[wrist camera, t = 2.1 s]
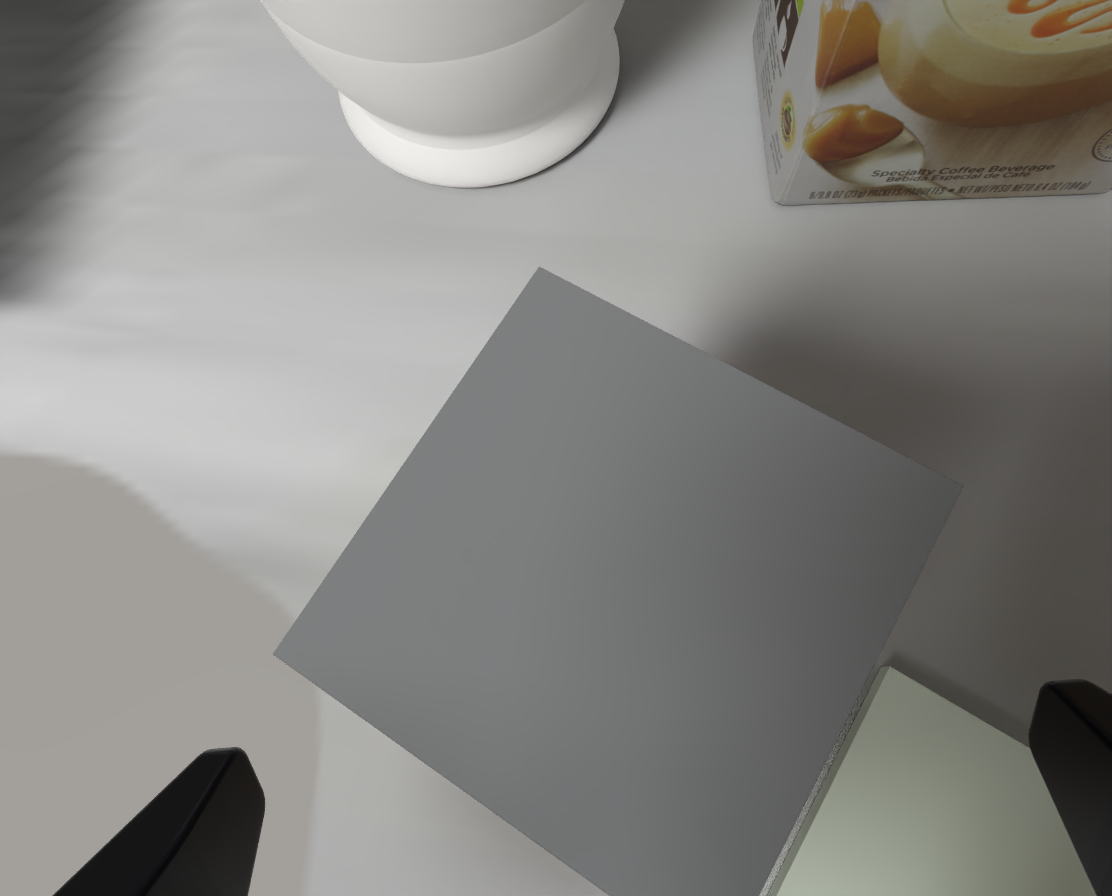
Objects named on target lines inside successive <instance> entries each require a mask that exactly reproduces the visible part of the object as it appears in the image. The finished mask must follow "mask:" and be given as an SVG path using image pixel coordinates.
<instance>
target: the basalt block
mask: <svg viewBox="0 0 1112 896" xmlns="http://www.w3.org/2000/svg"><path fill="white" fill-rule="evenodd" d="M962 488H963V485H961V484H959V483H957V482H955V481H953V480H951V479H949V478H947V477H945V476H943V475H941V474H939V473H937V472H936V471H934V470H932V469H930V468H928V467H926V466H924V465H922V464H920V463H918V462H916V461H914V460H912V459H910V458H908V457H907V456H905V455H903V454H901V453H899V452H897V451H895V450H893V449H891V448H889V447H887V446H885V445H883V444H881V443H879V442H877V441H876V440H874V439H872V438H870V437H868V436H866V435H864V434H862V433H860V432H858V431H856V430H854V429H852V428H850V427H848V426H847V425H845V424H843V423H841V422H839V421H837V420H835V419H833V418H831V417H829V416H827V415H825V414H823V413H821V412H819V411H818V410H816V409H814V408H812V407H810V406H808V405H806V404H804V403H802V402H800V401H798V400H796V399H794V398H792V397H790V396H788V395H787V394H785V393H783V392H781V391H779V390H777V389H775V388H773V387H771V386H769V385H767V384H765V383H763V382H761V381H759V380H758V379H756V378H754V377H752V376H750V375H748V374H746V373H744V372H742V371H740V370H738V369H736V368H734V367H732V366H730V365H729V364H727V363H725V362H723V361H721V360H719V359H717V358H715V357H713V356H711V355H709V354H707V353H705V352H703V351H701V350H699V349H698V348H696V347H694V346H692V345H690V344H688V343H686V342H684V341H682V340H680V339H678V338H676V337H674V336H672V335H670V334H669V333H667V332H665V331H663V330H661V329H659V328H657V327H655V326H653V325H651V324H649V323H647V322H645V321H643V320H641V319H640V318H638V317H636V316H634V315H632V314H630V313H628V312H626V311H624V310H622V309H620V308H618V307H616V306H614V305H612V304H611V303H609V302H607V301H605V300H603V299H601V298H599V297H597V296H595V295H593V294H591V293H589V292H587V291H585V290H583V289H581V288H580V287H578V286H576V285H574V284H572V283H570V282H568V281H566V280H564V279H562V278H560V277H558V276H556V275H554V274H552V273H551V272H549V271H547V270H545V269H543V268H541V267H539V268H538V269H537V271H536V272H535V273H534V275H533V276H532V278H531V279H530V281H529V282H528V284H527V285H526V287H525V288H524V289H523V291H522V292H521V294H520V295H519V297H518V298H517V300H516V301H515V303H514V304H513V305H512V307H511V308H510V310H509V311H508V313H507V314H506V316H505V317H504V319H503V320H502V321H501V323H500V324H499V326H498V327H497V329H496V330H495V332H494V333H493V335H492V336H491V337H490V339H489V340H488V342H487V343H486V345H485V346H484V348H483V349H482V351H481V352H480V353H479V355H478V356H477V358H476V359H475V361H474V362H473V364H472V365H471V367H470V368H469V369H468V371H467V372H466V374H465V375H464V377H463V378H462V380H461V381H460V383H459V384H458V385H457V387H456V388H455V390H454V391H453V393H452V394H451V396H450V397H449V399H448V400H447V401H446V403H445V404H444V406H443V407H442V409H441V410H440V412H439V413H438V415H437V416H436V417H435V419H434V420H433V422H432V423H431V425H430V426H429V428H428V429H427V431H426V432H425V433H424V435H423V436H422V438H421V439H420V441H419V442H418V444H417V445H416V447H415V448H414V449H413V451H412V452H411V454H410V455H409V457H408V458H407V460H406V461H405V463H404V464H403V465H402V467H401V468H400V470H399V471H398V473H397V474H396V476H395V477H394V479H393V480H392V481H391V483H390V484H389V486H388V487H387V489H386V490H385V492H384V493H383V495H382V496H381V497H380V499H379V500H378V502H377V503H376V505H375V506H374V508H373V509H372V511H371V512H370V513H369V515H368V516H367V518H366V519H365V521H364V522H363V524H362V525H361V527H360V528H359V529H358V531H357V532H356V534H355V535H354V537H353V538H352V540H351V541H350V543H349V544H348V545H347V547H346V548H345V550H344V551H343V553H342V554H341V556H340V557H339V559H338V560H337V561H336V563H335V564H334V566H333V567H332V569H331V570H330V572H329V573H328V575H327V576H326V577H325V579H324V580H323V582H322V583H321V585H320V586H319V588H318V589H317V591H316V592H315V593H314V595H313V596H312V598H311V599H310V601H309V602H308V604H307V605H306V607H305V608H304V609H303V611H302V612H301V614H300V615H299V617H298V618H297V620H296V621H295V623H294V624H293V625H292V627H291V628H290V630H289V631H288V633H287V634H286V636H285V637H284V639H283V640H282V642H281V643H280V644H279V646H278V648H277V649H276V650H275V652H274V653H273V655H274V656H276V657H277V658H279V659H280V660H281V661H283V662H284V663H286V664H287V665H289V666H290V667H291V668H293V669H294V670H295V671H297V672H298V673H300V674H301V675H303V676H304V677H305V678H307V679H308V680H309V681H311V682H312V683H314V684H315V685H316V686H318V687H319V688H321V689H322V690H323V691H325V692H326V693H328V694H329V695H330V696H332V697H333V698H335V699H336V700H337V701H339V702H340V703H341V704H343V705H344V706H346V707H347V708H348V709H350V710H351V711H353V712H354V713H355V714H357V715H358V716H360V717H361V718H362V719H364V720H365V721H367V722H368V723H369V724H371V725H372V726H374V727H375V728H376V729H378V730H379V731H381V732H382V733H383V734H385V735H386V736H388V737H389V738H390V739H392V740H393V741H395V742H396V743H397V744H399V745H400V746H402V747H403V748H404V749H406V750H407V751H408V752H410V753H411V754H413V755H414V756H415V757H417V758H418V759H420V760H421V761H422V762H424V763H425V764H427V765H428V766H429V767H431V768H432V769H434V770H435V771H436V772H438V773H439V774H441V775H442V776H443V777H445V778H446V779H448V780H449V781H450V782H452V783H453V784H455V785H456V786H457V787H459V788H460V789H462V790H463V791H464V792H466V793H467V794H469V795H470V796H471V797H473V798H474V799H475V800H477V801H478V802H480V803H481V804H482V805H484V806H485V807H487V808H488V809H489V810H491V811H492V812H494V813H495V814H496V815H498V816H499V817H501V818H502V819H503V820H505V821H506V822H508V823H509V824H510V825H512V826H513V827H515V828H516V829H517V830H519V831H520V832H522V833H523V834H524V835H526V836H527V837H529V838H530V839H531V840H533V841H534V842H536V843H537V844H538V845H540V846H541V847H543V848H544V849H545V850H547V851H548V852H549V853H551V854H552V855H554V856H555V857H556V858H558V859H559V860H561V861H562V862H563V863H565V864H566V865H568V866H569V867H570V868H572V869H573V870H575V871H576V872H577V873H579V874H580V875H582V876H583V877H584V878H586V879H587V880H589V881H590V882H591V883H593V884H594V885H596V886H597V887H598V888H600V889H601V890H603V891H604V892H605V893H607V894H608V895H610V896H759V894H760V892H761V890H762V888H763V886H764V884H765V882H766V880H767V878H768V876H769V874H770V872H771V870H772V868H773V866H774V864H775V862H776V860H777V858H778V856H779V854H780V852H781V850H782V848H783V846H784V844H785V842H786V840H787V838H788V836H789V834H790V832H791V830H792V828H793V826H794V824H795V822H796V820H797V818H798V816H799V814H800V812H801V810H802V808H803V806H804V804H805V802H806V800H807V798H808V796H809V794H810V792H811V790H812V788H813V786H814V784H815V782H816V780H817V778H818V776H819V774H820V772H821V770H822V768H823V766H824V764H825V762H826V760H827V758H828V756H829V754H830V752H831V750H832V748H833V746H834V744H835V742H836V740H837V738H838V736H839V734H840V732H841V730H842V728H843V726H844V724H845V722H846V720H847V718H848V716H849V714H850V712H851V710H852V708H853V706H854V704H855V702H856V700H857V698H858V696H859V694H860V692H861V690H862V688H863V686H864V684H865V682H866V680H867V678H868V676H869V674H870V672H871V670H872V668H873V666H874V664H875V662H876V660H877V658H878V656H879V654H880V652H881V650H882V648H883V646H884V644H885V642H886V640H887V638H888V636H889V634H890V632H891V630H892V628H893V626H894V624H895V622H896V620H897V618H898V616H899V614H900V612H901V610H902V608H903V606H904V604H905V602H906V600H907V598H908V596H909V594H910V592H911V590H912V588H913V586H914V584H915V582H916V580H917V578H918V576H919V574H920V572H921V570H922V568H923V566H924V564H925V562H926V560H927V558H928V556H929V554H930V552H931V550H932V548H933V546H934V544H935V542H936V540H937V538H938V536H939V534H940V532H941V530H942V528H943V526H944V524H945V522H946V520H947V518H948V516H949V514H950V512H951V510H952V508H953V506H954V504H955V502H956V500H957V498H958V496H959V494H960V492H961V490H962Z"/></svg>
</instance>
